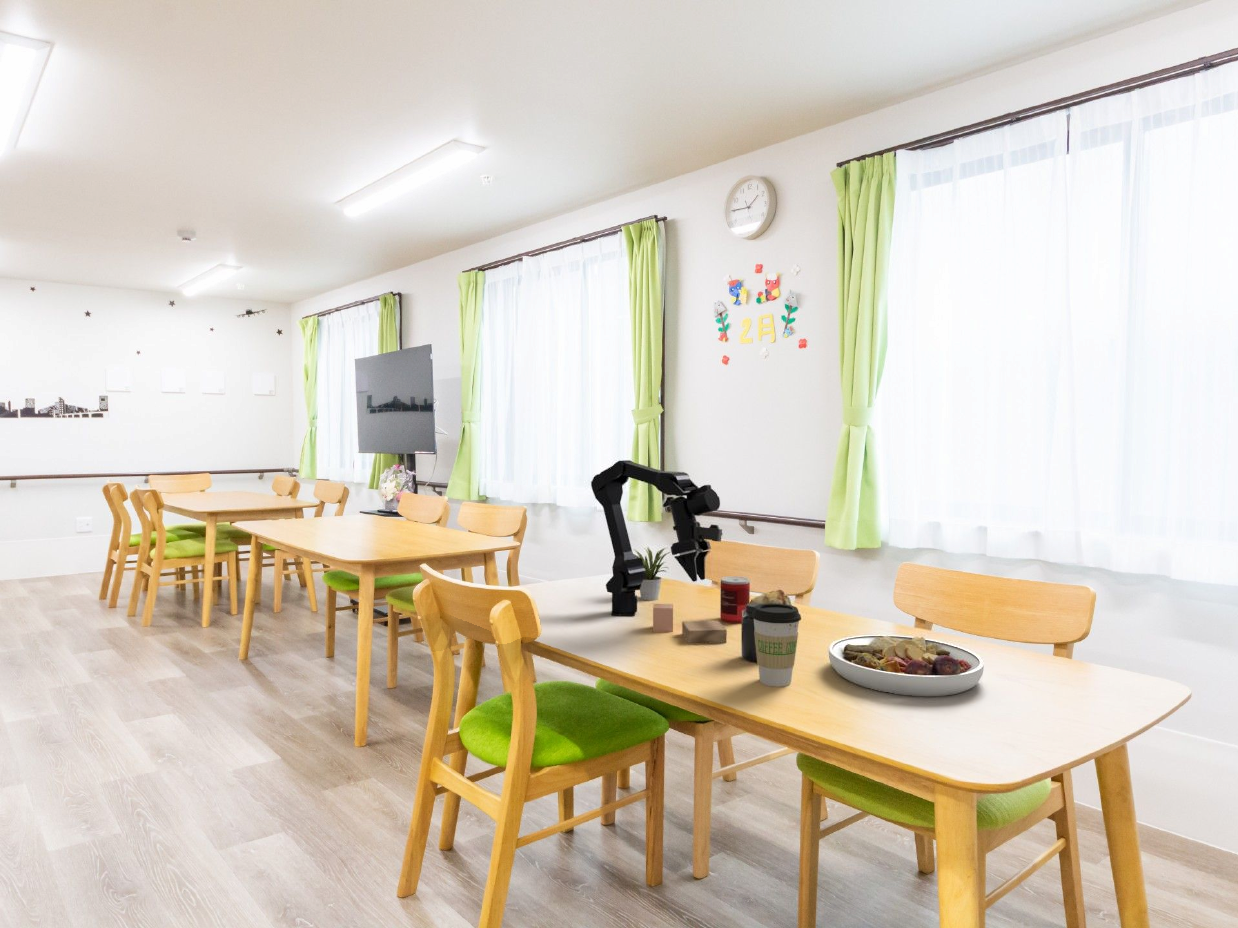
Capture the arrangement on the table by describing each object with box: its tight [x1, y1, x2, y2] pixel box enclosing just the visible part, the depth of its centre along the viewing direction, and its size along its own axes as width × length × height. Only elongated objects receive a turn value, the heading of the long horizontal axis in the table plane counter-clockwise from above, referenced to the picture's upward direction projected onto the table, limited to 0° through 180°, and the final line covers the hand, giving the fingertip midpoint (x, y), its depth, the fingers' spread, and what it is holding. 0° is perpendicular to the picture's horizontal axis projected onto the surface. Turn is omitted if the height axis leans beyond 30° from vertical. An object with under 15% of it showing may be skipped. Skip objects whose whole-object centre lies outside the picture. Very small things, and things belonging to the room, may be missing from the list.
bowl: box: [828, 634, 985, 697], centre depth 162 cm, size 30×30×8 cm
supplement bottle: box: [740, 602, 763, 663], centre depth 174 cm, size 7×7×12 cm
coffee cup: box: [751, 603, 802, 688], centre depth 158 cm, size 10×10×15 cm
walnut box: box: [681, 620, 728, 645], centre depth 191 cm, size 9×9×4 cm
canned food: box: [719, 576, 751, 624], centre depth 209 cm, size 8×8×11 cm
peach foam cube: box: [652, 603, 674, 633], centre depth 200 cm, size 5×5×6 cm
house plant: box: [632, 547, 671, 601], centre depth 235 cm, size 14×14×16 cm
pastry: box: [749, 589, 793, 606], centre depth 212 cm, size 14×12×8 cm
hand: (699, 580), depth 198 cm, fingers open, 9 cm apart
